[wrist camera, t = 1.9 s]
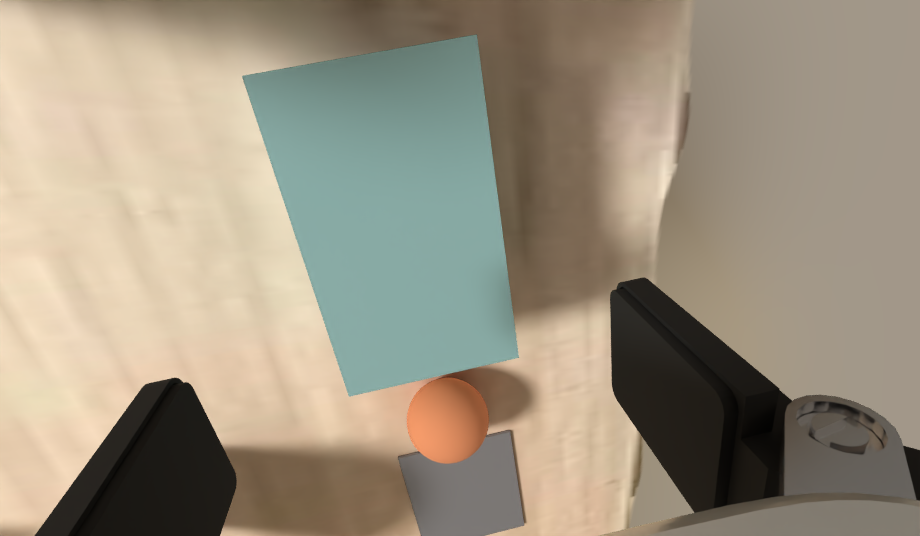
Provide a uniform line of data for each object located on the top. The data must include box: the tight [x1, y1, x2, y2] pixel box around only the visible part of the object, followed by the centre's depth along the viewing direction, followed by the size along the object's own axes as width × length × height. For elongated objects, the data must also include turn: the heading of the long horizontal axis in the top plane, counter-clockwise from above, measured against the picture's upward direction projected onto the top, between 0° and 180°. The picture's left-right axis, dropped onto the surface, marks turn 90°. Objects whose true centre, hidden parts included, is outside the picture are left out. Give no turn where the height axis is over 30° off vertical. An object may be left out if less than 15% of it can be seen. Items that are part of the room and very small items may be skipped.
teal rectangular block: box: [242, 34, 519, 396], centre depth 22 cm, size 13×8×8 cm, turn 9°
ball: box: [407, 378, 489, 464], centre depth 29 cm, size 5×5×5 cm
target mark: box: [398, 430, 524, 536], centre depth 35 cm, size 10×8×1 cm
